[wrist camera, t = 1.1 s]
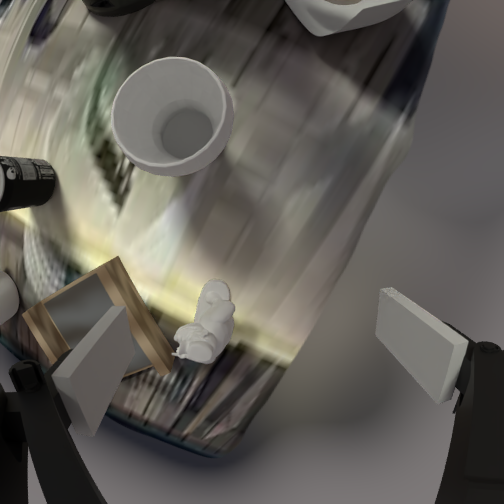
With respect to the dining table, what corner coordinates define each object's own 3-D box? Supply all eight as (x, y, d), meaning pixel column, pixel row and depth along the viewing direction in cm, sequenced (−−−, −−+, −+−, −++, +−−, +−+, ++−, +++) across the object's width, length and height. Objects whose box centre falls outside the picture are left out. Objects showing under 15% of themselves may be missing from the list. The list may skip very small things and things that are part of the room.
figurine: (190, 272, 40) (175, 307, 28) (240, 284, 41) (243, 322, 29) (178, 334, 41) (163, 383, 30) (224, 344, 42) (223, 396, 30)
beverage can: (24, 205, 36) (-29, 213, 24) (26, 161, 35) (-27, 158, 23) (57, 205, 37) (5, 214, 25) (59, 158, 35) (8, 153, 24)
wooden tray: (38, 302, 39) (21, 314, 34) (118, 255, 39) (104, 264, 34) (92, 385, 43) (81, 403, 38) (175, 353, 42) (170, 372, 37)
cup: (242, 166, 38) (249, 153, 23) (160, 190, 37) (119, 192, 23) (221, 89, 35) (216, 36, 21) (141, 113, 35) (95, 76, 20)
